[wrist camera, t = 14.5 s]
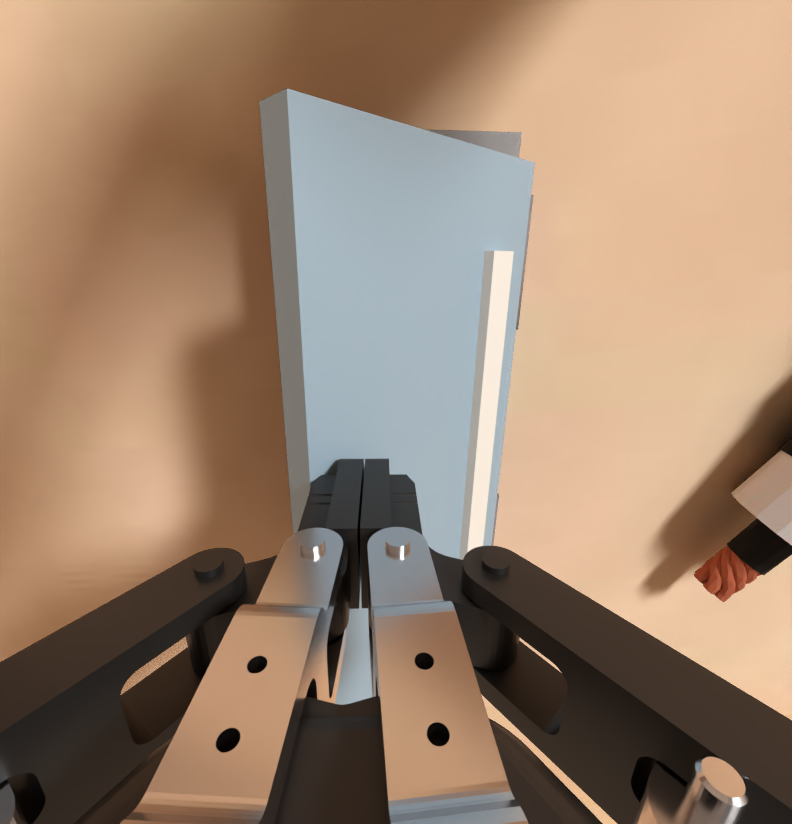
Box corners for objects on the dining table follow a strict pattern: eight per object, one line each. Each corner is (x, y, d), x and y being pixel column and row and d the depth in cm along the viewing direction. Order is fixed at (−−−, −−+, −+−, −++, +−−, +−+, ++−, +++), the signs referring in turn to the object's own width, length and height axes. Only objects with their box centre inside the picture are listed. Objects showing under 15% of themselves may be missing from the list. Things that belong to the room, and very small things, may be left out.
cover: (259, 101, 10) (297, 83, 9) (515, 169, 17) (554, 164, 16) (307, 716, 17) (331, 749, 15) (474, 582, 24) (499, 598, 22)
